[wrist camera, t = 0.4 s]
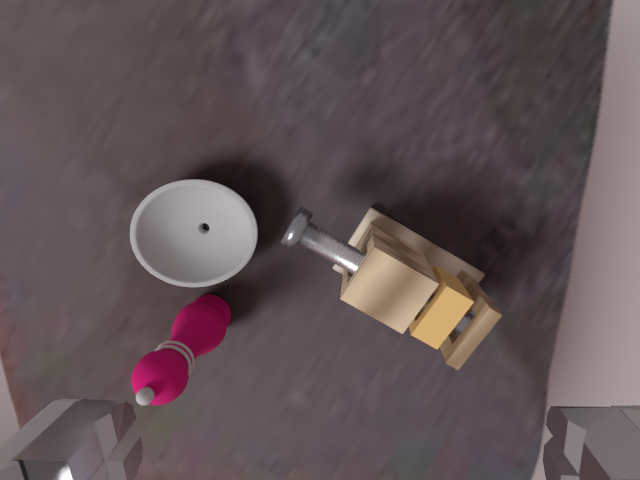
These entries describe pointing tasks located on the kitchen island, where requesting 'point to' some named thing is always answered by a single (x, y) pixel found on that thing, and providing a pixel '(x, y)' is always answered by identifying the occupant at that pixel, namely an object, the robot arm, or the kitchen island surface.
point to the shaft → (337, 251)
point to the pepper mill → (181, 351)
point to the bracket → (411, 282)
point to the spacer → (441, 310)
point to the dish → (193, 233)
